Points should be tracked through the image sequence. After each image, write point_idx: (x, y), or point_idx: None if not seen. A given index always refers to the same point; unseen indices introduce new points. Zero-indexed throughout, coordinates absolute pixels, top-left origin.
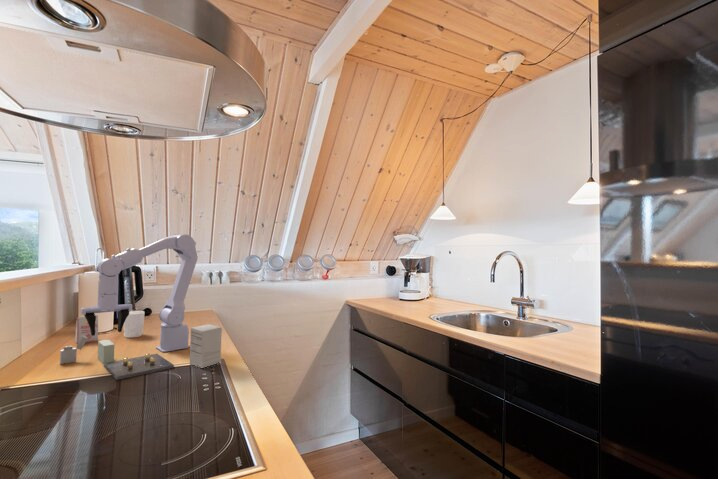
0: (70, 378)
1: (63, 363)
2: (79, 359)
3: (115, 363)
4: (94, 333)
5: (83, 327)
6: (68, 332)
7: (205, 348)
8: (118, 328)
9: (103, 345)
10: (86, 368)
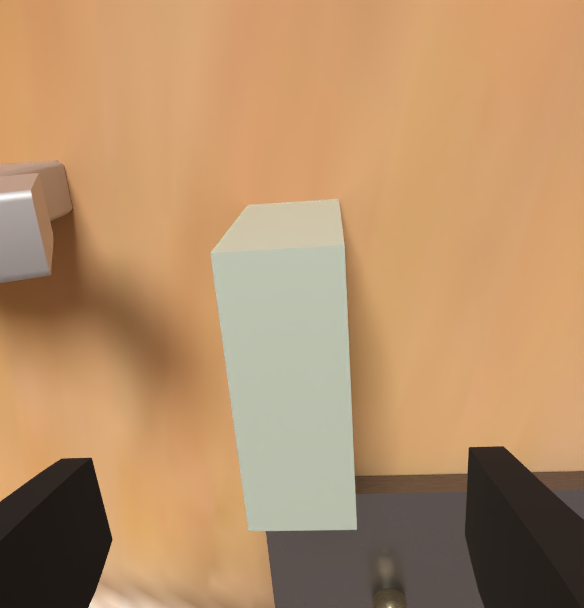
0: None
1: None
2: (96, 151)
3: (334, 546)
4: (92, 575)
5: None
6: None
7: None
8: (483, 532)
9: (246, 512)
10: (155, 455)
